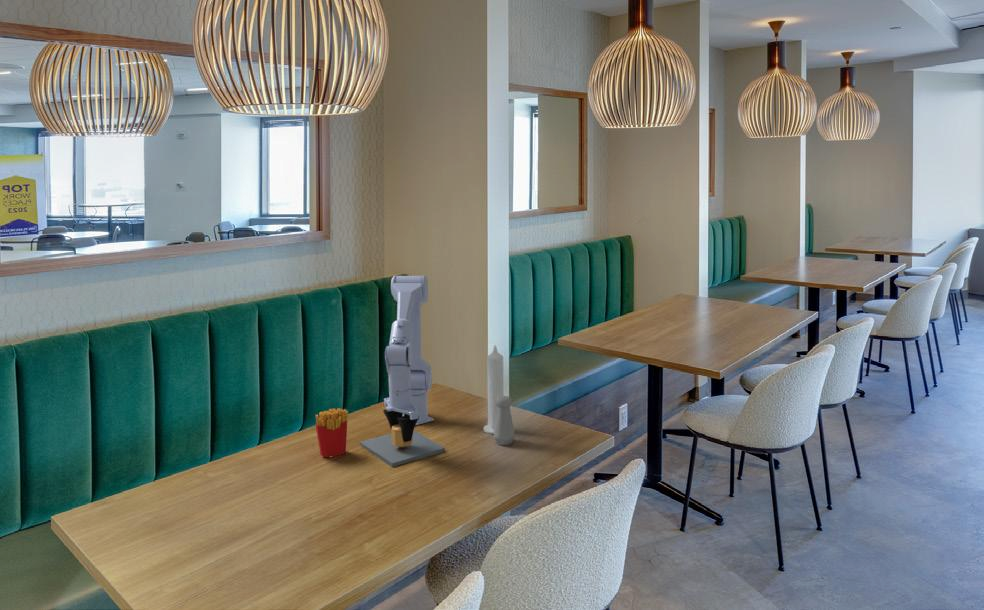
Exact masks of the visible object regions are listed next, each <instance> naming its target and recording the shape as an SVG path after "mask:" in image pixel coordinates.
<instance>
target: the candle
mask: <svg viewBox="0 0 984 610" xmlns="http://www.w3.org/2000/svg"><path fill="white" fill-rule="evenodd" d="M492 349H493V350H492V352H491V353H490V354H489V355H487V356H486V359H487V360H486V361H487V362H486V363H487V369H486V370H487V372H486V373H487V377H486V378H487V424H486V425H484V426H483V431H484V432H485V433H487V434H490V435H494V430H495V424H496V418H497V412H498V406H497V405H496V399H497V398H498V397H500V396H505V395H504V384H505V383H504V356H503V355H502V354H500V352H498V348H497V345H495V344H494V345H493V348H492Z"/></svg>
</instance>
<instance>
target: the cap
mask: <svg viewBox="0 0 984 610" xmlns="http://www.w3.org/2000/svg"><path fill="white" fill-rule="evenodd" d="M390 431H391V433H390V434H391V436H392V444H393V445H394V446H399V447H405V446H408V445H411V444H412V442H413V435H412V440H411V441H408V442H404V441H403V438H402V431H401V427H400V424H395V425H393V426H392V429H391V428H390Z"/></svg>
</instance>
